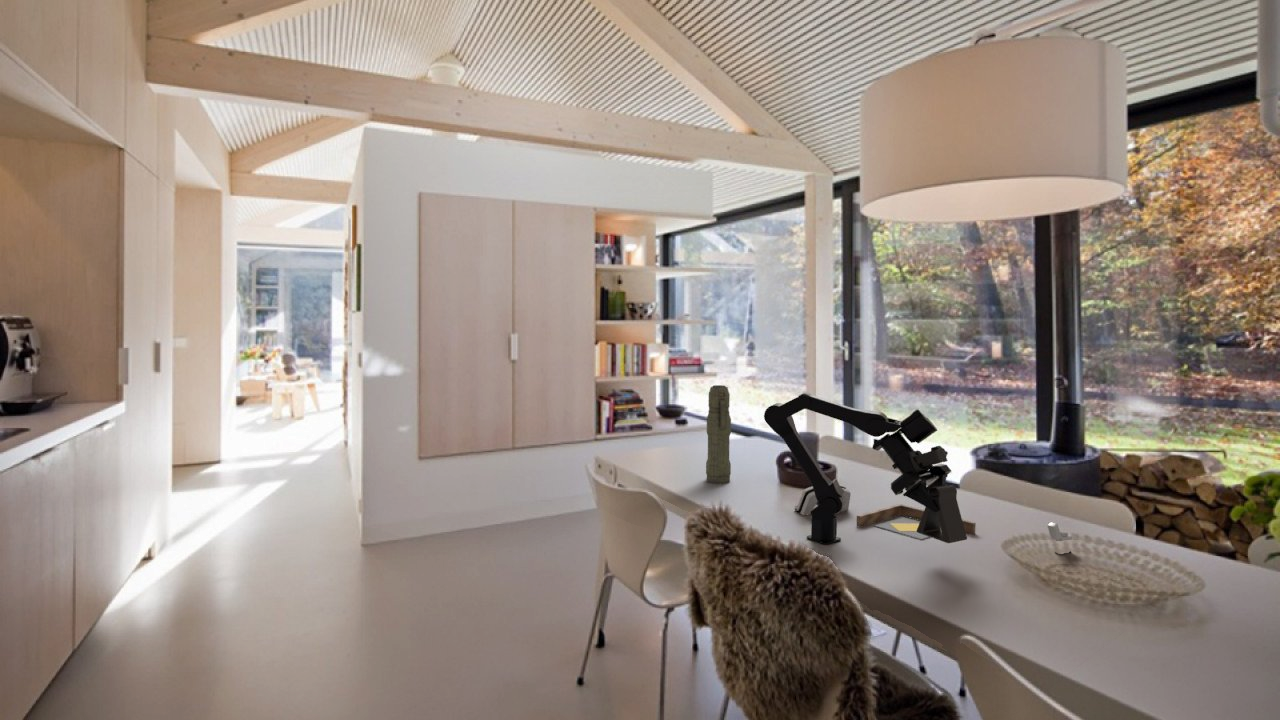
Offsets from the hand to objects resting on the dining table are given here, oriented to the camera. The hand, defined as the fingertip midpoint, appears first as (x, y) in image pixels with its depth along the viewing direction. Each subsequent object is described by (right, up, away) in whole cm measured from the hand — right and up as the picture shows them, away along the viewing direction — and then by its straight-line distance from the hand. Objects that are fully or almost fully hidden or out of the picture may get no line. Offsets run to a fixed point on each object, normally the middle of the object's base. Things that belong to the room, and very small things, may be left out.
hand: (944, 509), depth 147 cm
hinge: (-16, -12, +43) cm, 48 cm away
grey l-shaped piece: (+32, -13, +8) cm, 36 cm away
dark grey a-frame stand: (0, -7, +1) cm, 7 cm away
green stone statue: (-43, -10, +82) cm, 93 cm away
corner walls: (+5, -12, +26) cm, 29 cm away
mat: (+4, -12, +27) cm, 30 cm away
